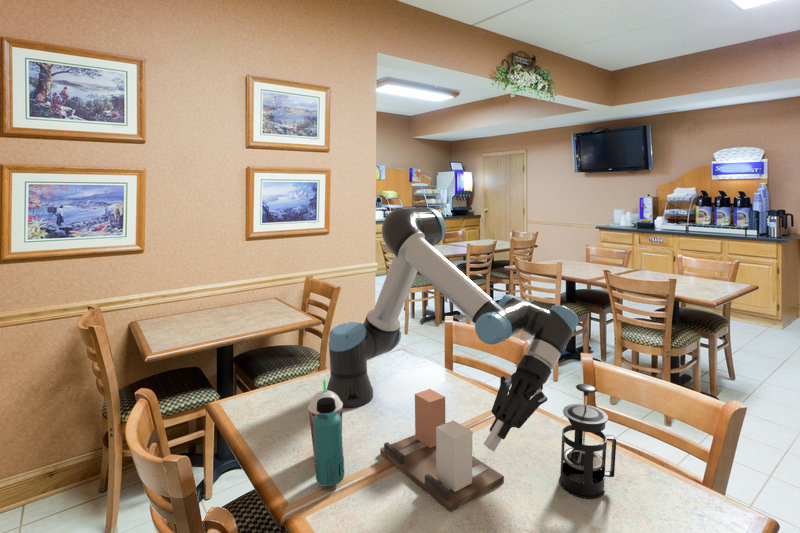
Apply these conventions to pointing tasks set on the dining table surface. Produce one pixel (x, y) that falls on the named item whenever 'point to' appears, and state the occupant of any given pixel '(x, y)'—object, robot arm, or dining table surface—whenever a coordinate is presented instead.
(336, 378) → the robot arm
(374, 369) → the dining table surface
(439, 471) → the key
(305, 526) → the dining table surface
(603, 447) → the french press
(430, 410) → the key
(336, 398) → the smoothie
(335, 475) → the beverage bottle
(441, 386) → the dining table surface
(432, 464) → the board
